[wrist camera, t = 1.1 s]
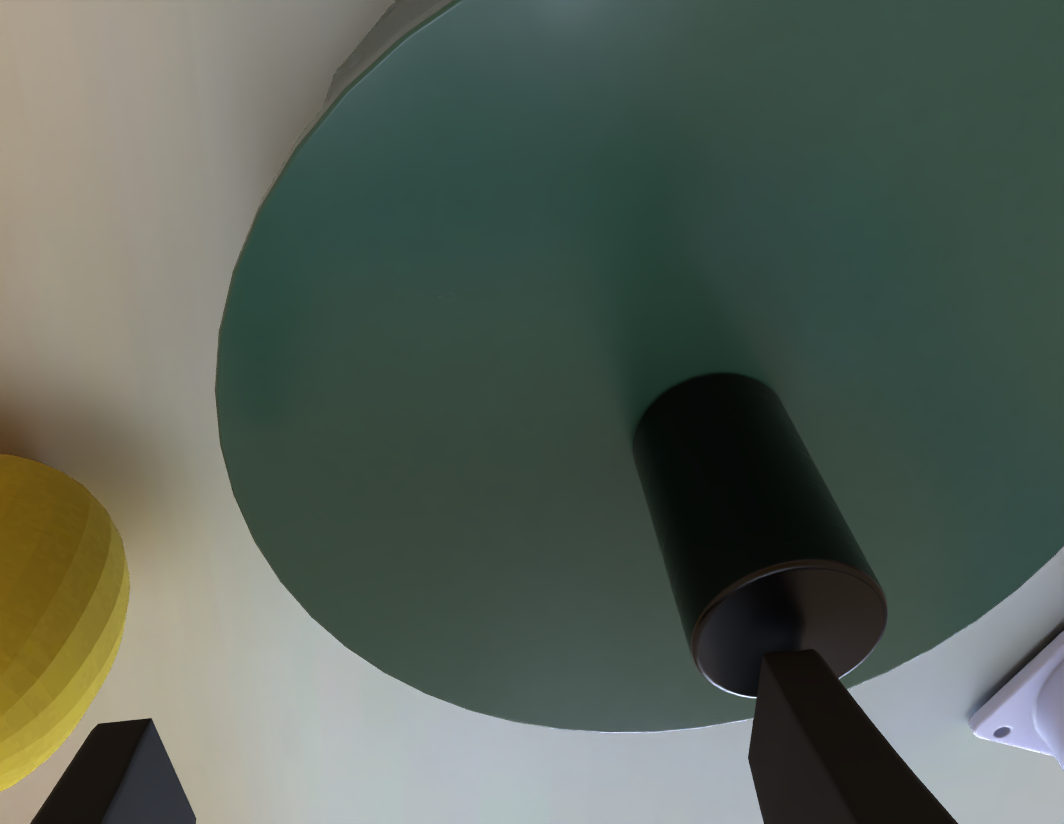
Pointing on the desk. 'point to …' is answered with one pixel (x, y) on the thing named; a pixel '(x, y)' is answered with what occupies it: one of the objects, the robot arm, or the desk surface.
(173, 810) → the robot arm
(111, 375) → the desk surface
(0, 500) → the lemon
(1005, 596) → the tin lid
